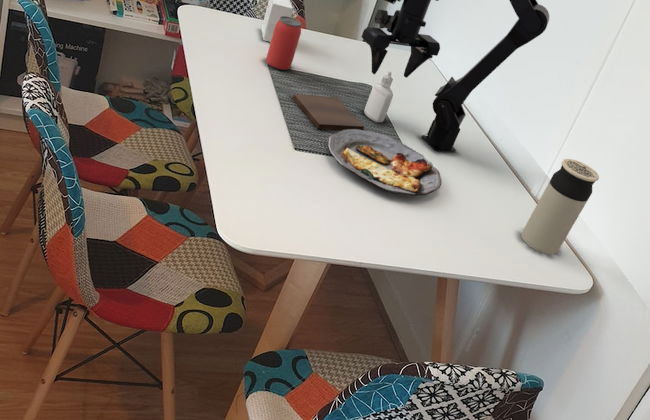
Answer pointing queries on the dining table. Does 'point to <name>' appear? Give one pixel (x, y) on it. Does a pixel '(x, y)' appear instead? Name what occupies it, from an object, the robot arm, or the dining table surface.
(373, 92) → the eye dropper bottle
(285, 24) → the beer can
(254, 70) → the dining table surface
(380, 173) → the food plate
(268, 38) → the small box
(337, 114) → the walnut board
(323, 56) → the dining table surface
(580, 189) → the travel mug
